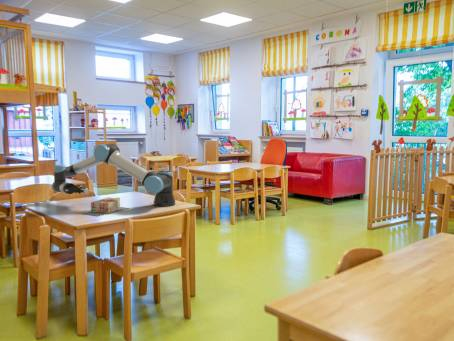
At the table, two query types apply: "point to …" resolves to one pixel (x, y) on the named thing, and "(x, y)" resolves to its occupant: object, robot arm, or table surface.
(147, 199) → the table surface
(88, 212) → the mat
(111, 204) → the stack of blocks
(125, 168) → the robot arm
